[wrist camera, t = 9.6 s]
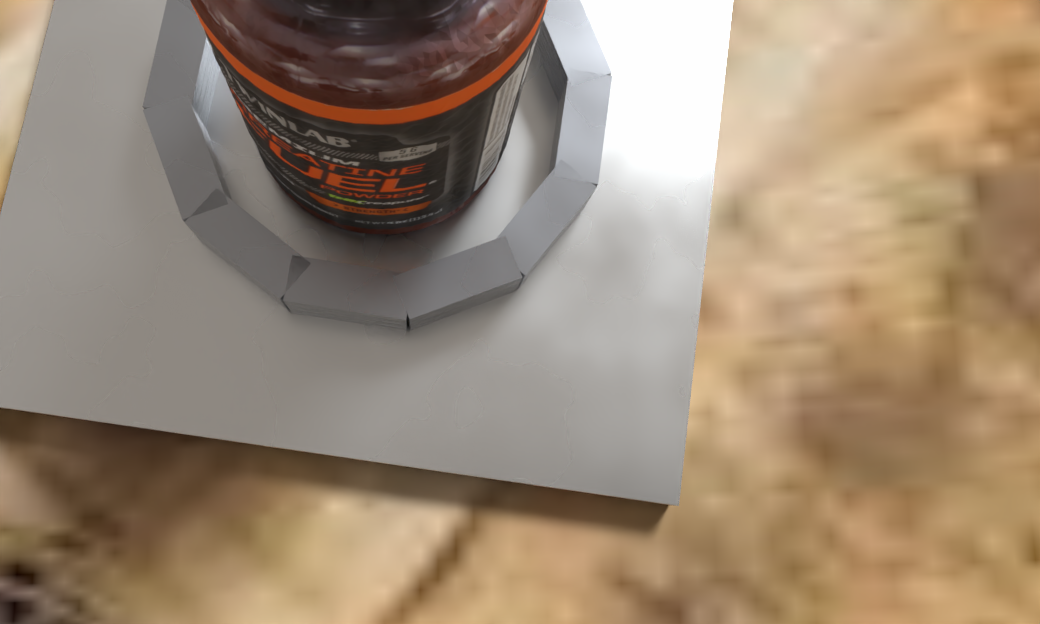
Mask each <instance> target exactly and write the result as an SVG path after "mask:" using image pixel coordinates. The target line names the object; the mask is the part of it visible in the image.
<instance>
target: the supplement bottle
mask: <svg viewBox="0 0 1040 624" xmlns="http://www.w3.org/2000/svg"><path fill="white" fill-rule="evenodd" d="M190 1H191V4H192V6H193V8H194V10H195V12H196V14H197V17H198V19H199V21H200V23H201V26H202V28H203V30H204V33H205V35H206V37H207V39H208V42H209V44H210V46H211V48H212V52H213V54H214V57H215V59H216V61H217V63H218V65H219V67H220V69H221V71H222V74H223V75H224V77H225V79H226V82H227V84H228V86H229V89H230V91H231V93H232V96H233V98H234V99H235V102H236V105H237V107H238V109H239V110H240V112H241V115H242V117H243V120H244V122H245V125H246V127H247V129H248V132H249V134H250V136H251V137H252V140H253V142H254V144H255V146H256V148H257V151H258V153H259V155H260V157H261V159H262V160H263V162H264V164H265V166H266V168H267V170H268V171H269V172H270V174H271V175H272V176H273V178H274V179H275V181H276V182H277V183H278V184H279V185H280V187H281V188H282V189H283V191H284V192H285V193H286V194H287V195H288V196H289V197H290V198H291V199H293V200H294V201H295V202H296V203H297V204H298V205H300V206H301V207H303V208H304V209H305V210H306V211H308V212H310V213H311V214H313V215H314V216H316V217H318V218H320V219H321V220H323V221H325V222H327V223H329V224H332V225H334V226H337V227H341V228H343V229H345V230H348V231H353V232H358V233H366V234H387V235H391V234H401V233H406V232H411V231H416V230H420V229H423V228H427V227H429V226H431V225H434V224H436V223H441V222H443V221H444V220H446V219H448V218H450V217H451V216H452V215H454V214H455V213H457V212H458V211H460V210H461V209H463V208H464V207H465V206H466V205H467V204H468V203H469V202H471V201H472V199H473V198H474V197H475V196H476V195H477V194H478V193H479V192H480V191H481V190H482V189H483V188H484V186H485V185H486V184H487V183H488V180H489V179H490V177H491V176H492V174H493V173H494V172H495V170H496V167H497V165H498V163H499V161H500V159H501V157H502V154H503V152H504V150H505V148H506V145H507V142H508V138H509V135H510V130H511V126H512V123H513V120H514V116H515V113H516V109H517V107H518V103H519V99H520V95H521V92H522V89H523V85H524V82H525V79H526V75H527V72H528V68H529V65H530V61H531V57H532V54H533V51H534V48H535V44H536V41H537V37H538V34H539V31H540V27H541V24H542V21H543V17H544V14H545V10H546V5H547V1H548V0H190Z"/></svg>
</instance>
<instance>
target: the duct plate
mask: <svg viewBox="0 0 1040 624" xmlns="http://www.w3.org/2000/svg"><path fill="white" fill-rule="evenodd" d="M732 5H733V0H548V1H547V5H546V10H545V14H544V17H543V21H542V24H541V27H540V31H539V34H538V37H537V41H536V44H535V48H534V51H533V54H532V57H531V61H530V65H529V68H528V72H527V75H526V79H525V82H524V85H523V89H522V92H521V95H520V99H519V103H518V107H517V109H516V113H515V116H514V120H513V123H512V126H511V130H510V135H509V138H508V142H507V145H506V148H505V150H504V152H503V154H502V157H501V159H500V161H499V163H498V165H497V167H496V170H495V172H494V173H493V174H492V176H491V177H490V179H489V180H488V183H487V184H486V185H485V186H484V188H483V189H482V190H481V191H480V192H479V193H478V194H477V195H476V196H475V197H474V198H473V199H472V201H471V202H469V203H468V204H467V205H466V206H465V207H464V208H463V209H461V210H460V211H458V212H457V213H455V214H454V215H452V216H451V217H450V218H448V219H446V220H444V221H443V222H441V223H436V224H434V225H431V226H429V227H427V228H423V229H420V230H416V231H411V232H406V233H401V234H391V235H387V234H366V233H358V232H353V231H348V230H345V229H343V228H341V227H337V226H334V225H332V224H329V223H327V222H325V221H323V220H321V219H320V218H318V217H316V216H314V215H313V214H311V213H310V212H308V211H306V210H305V209H304V208H303V207H301V206H300V205H298V204H297V203H296V202H295V201H294V200H293V199H291V198H290V197H289V196H288V195H287V194H286V193H285V192H284V191H283V189H282V188H281V187H280V185H279V184H278V183H277V182H276V181H275V179H274V178H273V176H272V175H271V174H270V172H269V171H268V170H267V168H266V166H265V164H264V162H263V160H262V159H261V157H260V155H259V153H258V151H257V148H256V146H255V144H254V142H253V140H252V137H251V136H250V134H249V132H248V129H247V127H246V125H245V122H244V120H243V117H242V115H241V112H240V110H239V109H238V107H237V105H236V102H235V99H234V98H233V96H232V93H231V91H230V89H229V86H228V84H227V82H226V79H225V77H224V75H223V74H222V71H221V69H220V67H219V65H218V63H217V61H216V59H215V57H214V54H213V52H212V48H211V46H210V44H209V42H208V39H207V37H206V35H205V33H204V30H203V28H202V26H201V23H200V21H199V19H198V17H197V14H196V12H195V10H194V8H193V6H192V4H191V1H190V0H55V1H54V5H53V9H52V13H51V17H50V21H49V25H48V29H47V32H46V36H45V40H44V44H43V48H42V52H41V56H40V60H39V64H38V68H37V72H36V76H35V80H34V84H33V88H32V91H31V95H30V99H29V103H28V107H27V111H26V115H25V119H24V123H23V127H22V131H21V135H20V139H19V143H18V147H17V150H16V154H15V158H14V162H13V166H12V170H11V174H10V178H9V182H8V186H7V190H6V194H5V198H4V202H3V206H2V209H1V213H0V408H5V409H11V410H18V411H25V412H32V413H39V414H46V415H53V416H60V417H66V418H73V419H80V420H87V421H94V422H101V423H108V424H115V425H122V426H128V427H135V428H142V429H149V430H156V431H163V432H170V433H177V434H183V435H190V436H197V437H204V438H211V439H218V440H225V441H232V442H239V443H245V444H252V445H259V446H266V447H273V448H280V449H287V450H294V451H300V452H307V453H314V454H321V455H328V456H335V457H342V458H349V459H356V460H362V461H369V462H376V463H383V464H390V465H397V466H404V467H411V468H418V469H424V470H431V471H438V472H445V473H452V474H459V475H466V476H473V477H479V478H486V479H493V480H500V481H507V482H514V483H521V484H528V485H535V486H541V487H548V488H555V489H562V490H569V491H576V492H583V493H590V494H596V495H603V496H610V497H617V498H624V499H631V500H638V501H645V502H652V503H658V504H665V505H675V506H679V499H680V490H681V480H682V471H683V462H684V452H685V443H686V434H687V424H688V415H689V406H690V397H691V387H692V378H693V369H694V359H695V350H696V341H697V331H698V322H699V313H700V303H701V294H702V285H703V275H704V266H705V257H706V248H707V238H708V229H709V220H710V210H711V201H712V192H713V182H714V173H715V164H716V154H717V145H718V136H719V126H720V117H721V108H722V99H723V89H724V80H725V71H726V61H727V52H728V43H729V33H730V24H731V15H732Z"/></svg>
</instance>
